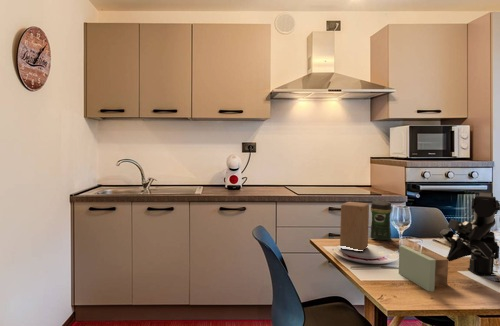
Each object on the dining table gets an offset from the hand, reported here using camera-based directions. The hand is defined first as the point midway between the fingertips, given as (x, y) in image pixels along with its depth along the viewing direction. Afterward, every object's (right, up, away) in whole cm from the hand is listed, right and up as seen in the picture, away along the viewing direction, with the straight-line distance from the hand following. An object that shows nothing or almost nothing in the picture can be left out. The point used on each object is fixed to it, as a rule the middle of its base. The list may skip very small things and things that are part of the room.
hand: (448, 260), depth 121 cm
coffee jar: (-4, -4, +52) cm, 52 cm away
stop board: (-12, -6, -2) cm, 14 cm away
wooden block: (-22, -5, +35) cm, 41 cm away
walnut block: (-7, -7, -1) cm, 10 cm away
